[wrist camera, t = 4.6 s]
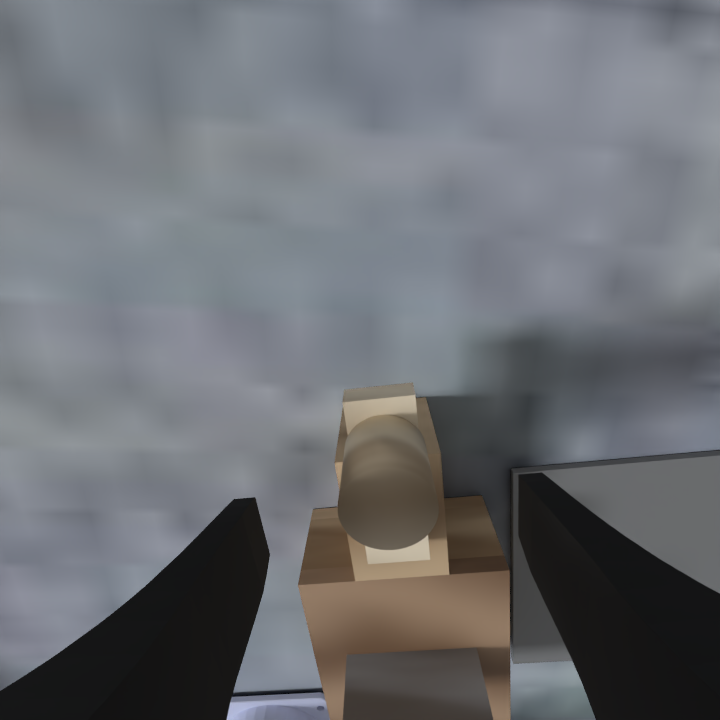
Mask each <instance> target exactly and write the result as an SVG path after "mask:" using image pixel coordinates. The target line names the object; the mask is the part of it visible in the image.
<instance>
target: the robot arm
mask: <svg viewBox="0 0 720 720" xmlns="http://www.w3.org/2000/svg"><path fill="white" fill-rule="evenodd" d="M518 536H519V539H520V542H521V545H522V548H523V551H524V554H525V557H526V560H527V563H528V566H529V569H530V572H531V574H532V576H533V578H534V581H535V583H536V585H537V587H538V589H539V591H540V593H541V596H542V598H543V600H544V602H545V604H546V606H547V608H548V610H549V612H550V615H551V617H552V619H553V621H554V623H555V625H556V627H557V629H558V631H559V633H560V636H561V638H562V640H563V642H564V644H565V646H566V648H567V650H568V652H569V654H570V657H571V659H572V661H573V663H574V665H575V668H576V670H577V672H578V674H579V677H580V679H581V681H582V684H583V686H584V689H585V692H586V694H587V697H588V700H589V702H590V705H591V708H592V710H593V713H594V715H595V718H596V720H720V593H718V592H716V591H714V590H712V589H710V588H709V587H707V586H705V585H703V584H701V583H700V582H698V581H696V580H694V579H693V578H691V577H689V576H688V575H686V574H684V573H683V572H681V571H679V570H677V569H676V568H674V567H672V566H671V565H669V564H667V563H666V562H664V561H662V560H661V559H659V558H658V557H656V556H654V555H653V554H651V553H650V552H648V551H647V550H645V549H644V548H642V547H641V546H639V545H638V544H636V543H635V542H633V541H632V540H630V539H629V538H627V537H626V536H624V535H623V534H622V533H620V532H619V531H617V530H616V529H615V528H613V527H612V526H610V525H609V524H608V523H606V522H605V521H603V520H602V519H601V518H599V517H598V516H597V515H595V514H594V513H593V512H591V511H590V510H589V509H588V508H586V507H585V506H584V505H582V504H581V503H580V502H579V501H577V500H576V499H575V498H573V497H572V496H571V495H570V494H568V493H567V492H566V491H565V490H563V489H562V488H561V487H560V486H558V485H557V484H556V483H555V482H553V481H552V480H551V479H550V478H548V477H547V476H546V475H545V474H543V473H542V472H541V473H530V474H518ZM269 557H270V553H269V549H268V545H267V541H266V537H265V534H264V530H263V526H262V522H261V518H260V514H259V510H258V507H257V503H256V499H255V497H254V498H243V499H234V500H233V501H232V502H231V503H230V504H229V505H228V506H227V507H226V508H225V509H224V510H223V511H222V512H221V513H220V514H219V515H218V516H217V517H216V518H215V519H214V520H213V521H212V522H211V523H210V524H209V525H208V526H207V527H206V528H205V529H204V530H203V531H202V532H201V533H200V534H199V535H198V536H197V537H196V538H195V539H194V540H193V541H192V542H191V543H190V544H189V545H188V546H187V547H186V548H185V549H184V550H183V551H182V552H181V553H180V554H179V555H178V556H177V557H176V558H175V559H174V560H173V561H172V562H171V563H170V564H169V565H168V566H166V567H165V568H164V569H163V570H162V571H161V572H160V573H159V574H158V575H157V576H156V577H155V578H154V579H153V580H151V581H150V582H149V583H148V584H147V585H146V586H145V587H144V588H143V589H141V590H140V591H139V592H138V593H137V594H136V595H134V596H133V597H132V598H131V599H130V600H129V601H127V602H126V603H125V604H124V605H122V606H121V607H120V608H119V609H117V610H116V611H115V612H114V613H112V614H111V615H110V616H109V617H107V618H106V619H105V620H104V621H102V622H101V623H100V624H98V625H97V626H96V627H94V628H93V629H91V630H90V631H89V632H87V633H86V634H84V635H83V636H82V637H80V638H79V639H78V640H76V641H75V642H73V643H72V644H71V645H69V646H68V647H67V648H65V649H64V650H62V651H61V652H60V653H58V654H57V655H55V656H54V657H52V658H51V659H49V660H48V661H46V662H45V663H43V664H42V665H40V666H39V667H37V668H36V669H34V670H33V671H31V672H30V673H28V674H27V675H25V676H24V677H22V678H20V679H19V680H17V681H16V682H14V683H12V684H11V685H9V686H8V687H6V688H4V689H3V690H1V691H0V720H330V717H329V713H328V709H327V705H326V701H325V696H324V693H321V692H317V693H297V694H278V695H258V696H239V697H232V694H233V690H234V687H235V683H236V680H237V676H238V673H239V670H240V667H241V663H242V660H243V657H244V654H245V650H246V647H247V644H248V641H249V637H250V634H251V631H252V628H253V625H254V621H255V618H256V615H257V611H258V608H259V605H260V601H261V598H262V594H263V591H264V585H265V580H266V575H267V569H268V563H269Z"/></svg>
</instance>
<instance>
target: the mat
mask: <svg viewBox="0 0 720 720" xmlns="http://www.w3.org/2000/svg"><path fill="white" fill-rule="evenodd" d="M541 472H542V473H543V474H545V475H546V476H547V477H548V478H550V479H551V480H552V481H553V482H555V483H556V484H557V485H558V486H560V487H561V488H562V489H563V490H565V491H566V492H567V493H568V494H570V495H571V496H572V497H573V498H575V499H576V500H577V501H579V502H580V503H581V504H582V505H584V506H585V507H586V508H588V509H589V510H590V511H591V512H593V513H594V514H595V515H597V516H598V517H599V518H601V519H602V520H603V521H605V522H606V523H608V524H609V525H610V526H612V527H613V528H615V529H616V530H617V531H619V532H620V533H622V534H623V535H624V536H626V537H627V538H629V539H630V540H632V541H633V542H635V543H636V544H638V545H639V546H641V547H642V548H644V549H645V550H647V551H648V552H650V553H651V554H653V555H654V556H656V557H658V558H659V559H661V560H662V561H664V562H666V563H667V564H669V565H671V566H672V567H674V568H676V569H677V570H679V571H681V572H683V573H684V574H686V575H688V576H689V577H691V578H693V579H694V580H696V581H698V582H700V583H701V584H703V585H705V586H707V587H709V588H710V589H712V590H714V591H716V592H718V593H720V450H718V451H706V452H695V453H684V454H672V455H661V456H649V457H638V458H626V459H615V460H604V461H592V462H581V463H569V464H558V465H547V466H535V467H524V468H512V469H511V657H512V661H513V664H519V663H537V662H556V661H572V659H571V657H570V654H569V652H568V650H567V648H566V646H565V644H564V642H563V640H562V638H561V636H560V633H559V631H558V629H557V627H556V625H555V623H554V621H553V619H552V617H551V615H550V612H549V610H548V608H547V606H546V604H545V602H544V600H543V598H542V596H541V593H540V591H539V589H538V587H537V585H536V583H535V581H534V578H533V576H532V574H531V572H530V569H529V566H528V563H527V560H526V557H525V554H524V551H523V548H522V545H521V542H520V539H519V536H518V474H530V473H541Z"/></svg>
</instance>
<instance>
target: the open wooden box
mask: <svg viewBox="0 0 720 720" xmlns="http://www.w3.org/2000/svg"><path fill="white" fill-rule="evenodd" d="M416 407H417V418H418V429H419V431H420V432H421V434H422V435H423V437H424V440H425V444H426V448H427V453H428V458H429V462H430V467H431V471H432V476H433V481H434V485H435V490H436V495H437V499H438V505H439V514H438V519H437V522H436V524H435V526H434V528H433V529H432V530H431V532H430V533H429V534H428V541H429V552H430V560H420V561H406V562H393V563H379V564H368V561H367V555H366V549H365V545H362V544H361V543H359V542H357V541H356V540H354V539H353V538H352V537H351V536H349V535H348V534H347V532H346V531H345V530H344V528H343V527H342V525H341V523H340V520H339V517H338V507H335V508H323V509H313V512H312V517H311V522H310V527H309V532H308V537H307V542H306V547H305V553H304V558H303V563H302V568H301V570H309V569H323V568H337V567H350V566H353V571H354V577H355V581H366V580H380V579H394V578H408V577H423V576H437V575H449V562H448V559H460V558H474V557H487V556H501V555H504V554H503V551H502V548H501V545H500V543H499V540H498V537H497V535H496V532H495V529H494V527H493V524H492V521H491V518H490V516H489V513H488V510H487V508H486V505H485V502H484V500H483V497H482V495H479V496H467V497H455V498H444V491H443V477H442V463H441V452H440V448H439V444H438V441H437V437H436V433H435V430H434V426H433V422H432V418H431V415H430V411H429V407H428V404H427V400H426V397H422V398H416ZM347 437H348V434H347V428H346V421H345V415H344V409H343V410H342V417H341V424H340V430H339V437H338V444H337V450H336V457H335V468H336V473H337V479H338V485H339V491H340V482H341V474H342V465H343V457H344V448H345V443H346V439H347Z"/></svg>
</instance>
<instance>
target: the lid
mask: <svg viewBox="0 0 720 720" xmlns="http://www.w3.org/2000/svg"><path fill="white" fill-rule="evenodd" d="M448 562H449V575H437V576H423V577H408V578H394V579H380V580H366V581H355V577H354V571H353V566H350V567H337V568H323V569H309V570H301V573H300V578H299V583H298V587H299V591H300V596H301V600H302V604H303V608H304V612H305V617H306V621H307V625H308V629H309V633H310V638H311V642H312V646H313V650H314V654H315V659H316V663H317V667H318V671H319V675H320V680H321V684H322V688H323V692H324V696H325V701H326V705H327V709H328V713H329V717H330V720H510V570H509V567H508V564H507V562H506V559H505V556H504V555H501V556H487V557H474V558H460V559H448Z"/></svg>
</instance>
